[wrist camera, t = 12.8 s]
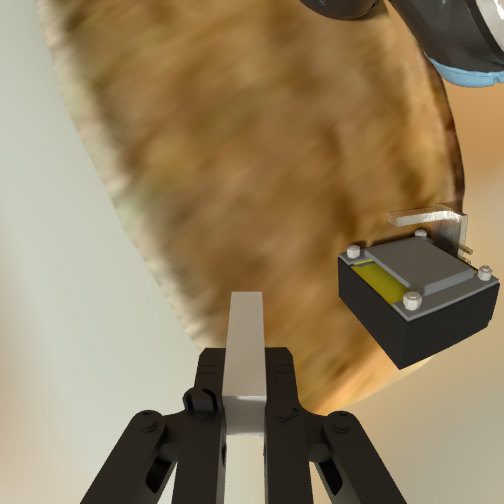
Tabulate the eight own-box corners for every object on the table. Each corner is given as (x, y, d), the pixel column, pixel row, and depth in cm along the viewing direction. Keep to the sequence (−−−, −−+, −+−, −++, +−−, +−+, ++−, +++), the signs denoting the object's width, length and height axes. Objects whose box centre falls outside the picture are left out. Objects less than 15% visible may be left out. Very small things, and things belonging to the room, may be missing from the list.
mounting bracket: (387, 209, 48) (425, 228, 39) (438, 203, 50) (477, 219, 40) (381, 299, 55) (411, 329, 45) (429, 286, 56) (461, 310, 47)
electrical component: (422, 225, 51) (503, 269, 32) (419, 275, 55) (488, 329, 36) (337, 244, 49) (409, 307, 31) (339, 299, 53) (398, 373, 35)
